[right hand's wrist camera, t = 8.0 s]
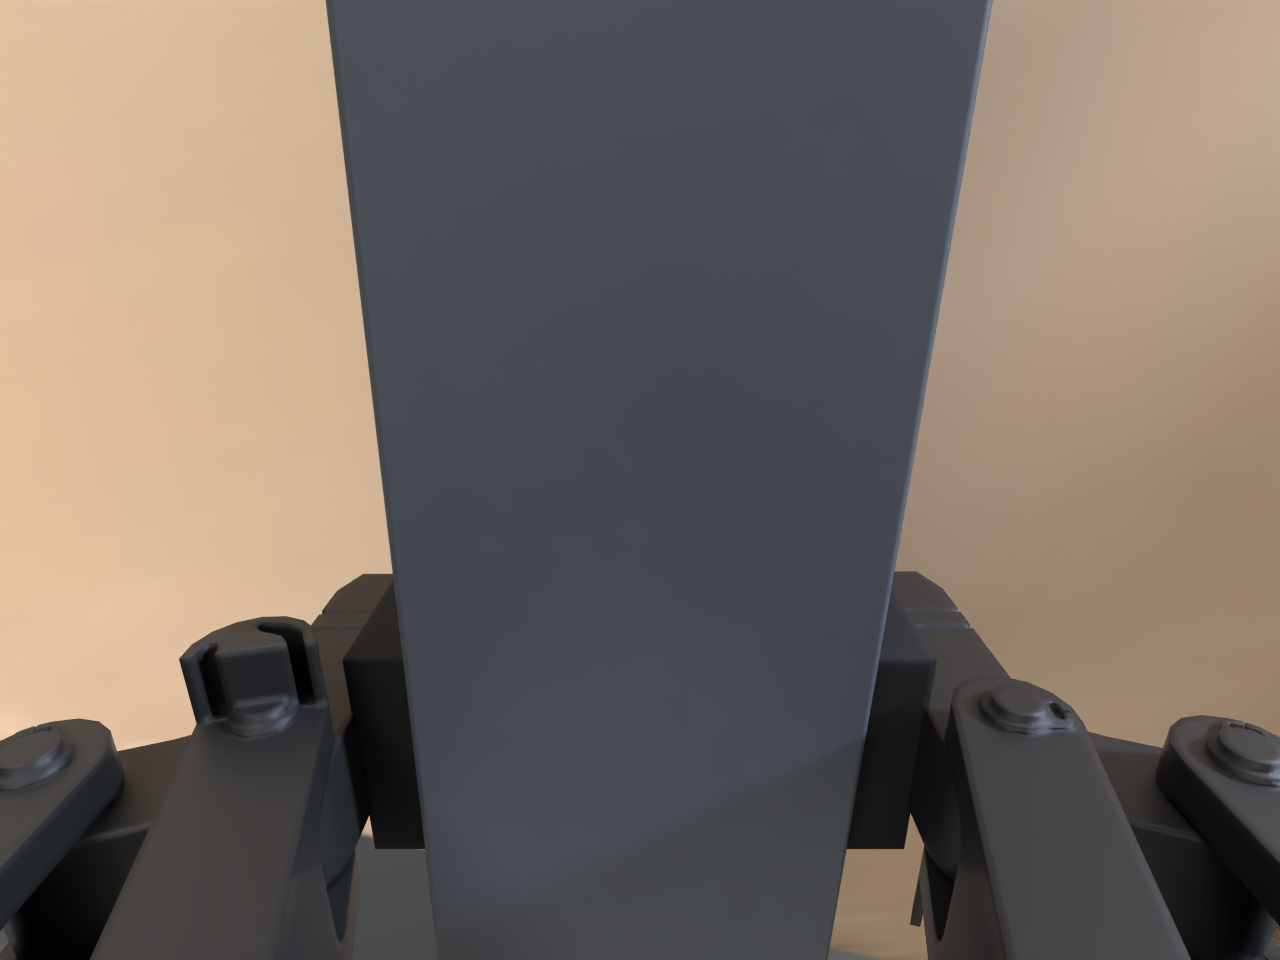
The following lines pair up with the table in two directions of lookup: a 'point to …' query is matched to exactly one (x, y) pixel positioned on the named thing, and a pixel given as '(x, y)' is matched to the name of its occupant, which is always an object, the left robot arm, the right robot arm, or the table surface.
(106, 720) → the table surface
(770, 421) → the post
